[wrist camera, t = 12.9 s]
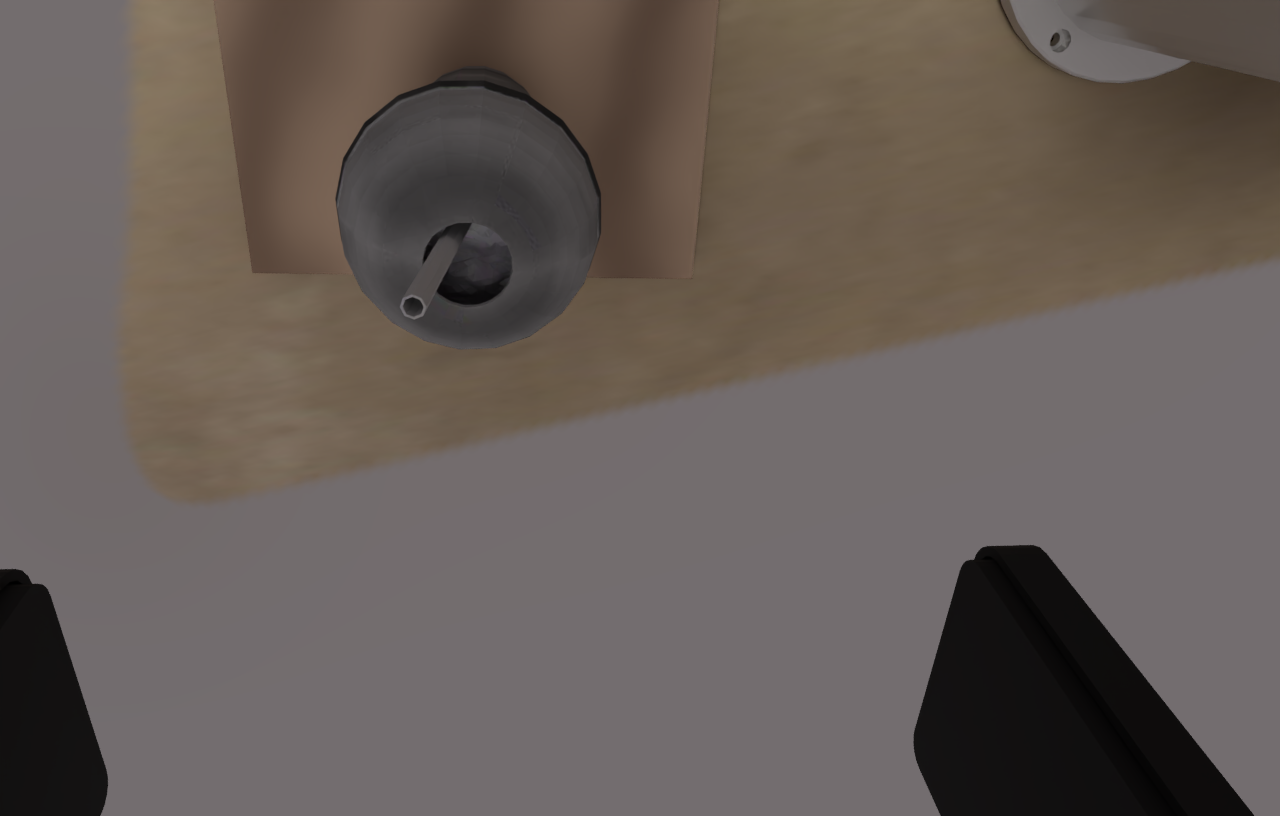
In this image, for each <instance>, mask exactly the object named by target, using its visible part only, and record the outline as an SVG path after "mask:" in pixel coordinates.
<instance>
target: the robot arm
mask: <svg viewBox="0 0 1280 816" xmlns="http://www.w3.org/2000/svg"><path fill="white" fill-rule="evenodd" d="M1001 4H1002V7H1003V9H1004V11H1005V13H1006V15H1007V17H1008V19H1009V21H1010V23H1011V25H1012V27H1013V29H1014V31H1015V32H1016V33H1017V35H1018V36H1019V37H1020V38H1021V40H1022V41H1023V42H1024V43H1025V44H1026V46H1027V47H1028V48H1029V49H1030V51H1031V52H1033V53H1034V54H1035V55H1037V56H1038V57H1039V58H1041V59H1042V60H1043V61H1045V62H1046V63H1047V64H1049V65H1050V66H1051V67H1054V68H1056V69H1059V70H1061V71H1063V72H1066V73H1068V74H1070V75H1073V76H1076V77H1080V78H1084V79H1088V80H1092V81H1095V82H1107V83H1128V82H1134V81H1141V80H1147V79H1152V78H1154V77H1157V76H1160V75H1163V74H1166V73H1168V72H1171V71H1174V70H1177V69H1179V68H1181V67H1183V66H1184V65H1186V64H1188V63H1190V62H1191V61H1193V62H1197V63H1202V64H1206V65H1210V66H1214V67H1219V68H1223V69H1227V70H1231V71H1236V72H1240V73H1244V74H1248V75H1253V76H1257V77H1261V78H1265V79H1270V80H1274V81H1278V82H1280V0H1001ZM1053 34H1054V39H1053V41H1052V42H1051V43H1050V40H1051V38H1052V36H1053ZM914 752H915V756H916V761H917V763H918V766H919V769H920V771H921V773H922V775H923V777H924V780H925V782H926V784H927V786H928V789H929V791H930V793H931V795H932V797H933V800H934V802H935V804H936V806H937V808H938V811H939V813H940V815H941V816H1254V815H1253V813H1252V812H1251V811H1250V810H1249V808H1248V807H1247V806H1246V805H1245V803H1244V802H1243V801H1242V800H1241V798H1240V797H1239V796H1238V794H1237V793H1236V792H1235V791H1234V789H1233V788H1232V787H1231V786H1230V784H1229V783H1228V782H1227V781H1226V779H1225V778H1224V777H1223V776H1222V774H1221V773H1220V772H1219V770H1218V769H1217V768H1216V767H1215V765H1214V764H1213V763H1212V762H1211V760H1210V759H1209V758H1208V757H1207V755H1206V754H1205V753H1204V752H1203V750H1202V749H1201V748H1200V747H1199V745H1198V744H1197V743H1196V742H1195V740H1194V739H1193V738H1192V736H1191V735H1190V734H1189V733H1188V731H1187V730H1186V729H1185V728H1184V726H1183V725H1182V724H1181V723H1180V721H1179V720H1178V719H1177V718H1176V716H1175V715H1174V714H1173V712H1172V711H1171V710H1170V709H1169V707H1168V706H1167V705H1166V704H1165V702H1164V701H1163V700H1162V699H1161V697H1160V696H1159V695H1158V694H1157V692H1156V691H1155V690H1154V689H1153V688H1152V686H1151V685H1150V683H1149V682H1148V681H1147V680H1146V678H1145V677H1144V676H1143V675H1142V673H1141V672H1140V671H1139V670H1138V668H1137V667H1136V666H1135V665H1134V663H1133V662H1132V661H1131V660H1130V658H1129V657H1128V656H1127V655H1126V653H1125V652H1124V651H1123V650H1122V648H1121V647H1120V646H1119V644H1118V643H1117V642H1116V641H1115V639H1114V638H1113V637H1112V636H1111V635H1110V633H1109V632H1108V630H1107V629H1106V628H1105V627H1104V626H1103V624H1102V623H1101V622H1100V620H1099V619H1098V618H1097V617H1096V615H1095V614H1094V613H1093V612H1092V610H1091V609H1090V608H1089V607H1088V605H1087V604H1086V603H1085V601H1084V600H1083V599H1082V598H1081V596H1080V595H1079V594H1078V593H1077V592H1076V590H1075V589H1074V588H1073V586H1072V585H1071V584H1070V583H1069V581H1068V580H1067V579H1066V578H1065V576H1064V575H1063V574H1062V572H1061V571H1060V570H1059V569H1058V568H1057V566H1056V565H1055V564H1054V563H1053V561H1052V560H1051V559H1050V558H1049V556H1048V555H1047V554H1046V553H1045V552H1044V551H1043V550H1042V549H1041V548H1040V547H1037V546H1034V545H1019V546H987V547H983V548H981V549H980V550H979V551H978V553H977V554H976V557H975V559H974V560H969V561H966V562H965V563H964V564H963V565H962V567H961V570H960V573H959V576H958V579H957V583H956V587H955V590H954V594H953V597H952V601H951V605H950V608H949V611H948V615H947V618H946V622H945V625H944V629H943V632H942V636H941V639H940V643H939V646H938V650H937V653H936V657H935V660H934V664H933V667H932V671H931V675H930V678H929V681H928V685H927V689H926V692H925V696H924V699H923V703H922V706H921V710H920V713H919V717H918V720H917V724H916V728H915V731H914ZM107 788H108V776H107V771H106V767H105V764H104V761H103V758H102V755H101V752H100V748H99V745H98V742H97V739H96V736H95V733H94V730H93V727H92V724H91V721H90V717H89V715H88V711H87V708H86V705H85V702H84V699H83V696H82V693H81V689H80V686H79V683H78V680H77V677H76V674H75V671H74V668H73V664H72V661H71V658H70V655H69V652H68V649H67V646H66V643H65V639H64V637H63V634H62V630H61V627H60V624H59V621H58V618H57V615H56V611H55V608H54V605H53V602H52V599H51V596H50V594H49V592H48V589H47V588H46V587H45V586H44V585H41V584H32V583H31V581H30V579H29V577H28V575H26V574H25V573H24V572H23V571H21V570H16V569H3V570H2V569H1V570H0V816H100V815H101V813H102V810H103V807H104V805H105V800H106V796H107Z"/></svg>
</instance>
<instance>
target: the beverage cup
mask: <svg viewBox="0 0 1280 816" xmlns="http://www.w3.org/2000/svg"><path fill="white" fill-rule="evenodd" d="M335 201H336V208H337V215H338V222H339V228H340V235H341V241H342V244H343V251H344V255H345V258H346V260H347V262H348V264H349V266H350V268H351V270H352V272H353V274H354V276H355V278H356V280H357V282H358V284H359V286H360V288H361V290H362V292H363V293H364V294H365V295H366V296H367V297H368V298H369V299H370V300H371V301H372V302H373V303H374V304H375V305H376V306H377V307H378V308H379V309H380V310H381V311H382V312H383V313H384V314H385V316H386V317H387V318H388V319H389V320H390V321H391V322H392V323H394V324H396V325H398V326H399V327H401V328H403V329H405V330H406V331H408V332H410V333H412V334H414V335H415V336H417V337H419V338H421V339H422V340H424V341H427V342H432V343H436V344H440V345H444V346H448V347H452V348H456V349H482V348H497V347H500V346H503V345H506V344H509V343H512V342H515V341H518V340H521V339H524V338H527V337H530V336H531V335H532V334H534V333H535V332H537V331H538V330H539V329H541V328H542V327H543V326H545V325H546V324H548V323H549V322H550V321H552V320H553V319H555V318H556V317H557V316H559V315H560V314H561V313H562V312H563V311H564V310H565V308H566V307H567V306H568V304H569V303H570V302H571V300H572V299H573V298H574V296H575V295H576V293H577V292H578V291H579V289H580V288H581V287H582V285H583V284H584V282H585V279H586V276H587V273H588V271H589V269H590V266H591V263H592V260H593V256H594V253H595V250H596V247H597V244H598V241H599V238H600V235H601V191H600V188H599V185H598V182H597V179H596V176H595V173H594V170H593V167H592V164H591V161H590V158H589V155H588V153H587V152H586V151H585V149H584V148H583V147H582V145H581V144H580V143H579V141H578V140H577V138H576V137H575V136H574V134H573V133H572V132H571V130H570V129H569V128H568V126H567V125H566V124H565V122H564V121H563V120H562V119H561V118H560V117H558V116H557V115H555V114H554V113H553V112H551V111H550V110H548V109H547V108H546V107H544V106H543V105H541V104H540V103H539V102H537V101H536V100H535V99H533V98H532V97H531V96H530V95H529V93H528V92H527V91H526V89H525V88H524V87H523V86H522V85H520V84H519V83H518V82H516V81H515V80H513V79H512V78H511V77H509V76H508V75H506V74H505V73H504V72H501V71H498V70H495V69H492V68H489V67H486V66H465V67H463V68H460V69H457V70H454V71H451V72H448V73H446V74H443V75H442V76H440V77H439V78H438V79H437V80H435V81H434V82H433V83H431V84H428V85H425V86H423V87H420V88H417V89H414V90H411V91H408V92H405V93H403V94H400V95H398V96H396V97H395V98H394V99H393V100H391V101H390V102H389V103H388V104H386V105H385V106H384V107H383V108H381V109H380V110H379V111H378V112H377V113H375V114H374V115H373V116H372V117H370V118H369V119H368V120H367V121H365V122H364V124H363V126H362V127H361V129H360V131H359V132H358V134H357V136H356V137H355V139H354V141H353V142H352V144H351V146H350V147H349V149H348V151H347V152H346V154H345V156H344V157H343V161H342V166H341V172H340V177H339V182H338V187H337V192H336V197H335Z"/></svg>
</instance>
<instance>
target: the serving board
mask: <svg viewBox="0 0 1280 816" xmlns="http://www.w3.org/2000/svg"><path fill="white" fill-rule="evenodd" d="M214 6H215V13H216V20H217V27H218V34H219V41H220V48H221V55H222V62H223V69H224V76H225V83H226V90H227V97H228V104H229V111H230V118H231V125H232V132H233V139H234V146H235V153H236V160H237V167H238V174H239V181H240V188H241V195H242V202H243V209H244V217H245V224H246V231H247V238H248V245H249V252H250V259H251V266H252V273H294V274H353V272H352V270H351V268H350V266H349V264H348V262H347V260H346V258H345V255H344V251H343V244H342V241H341V235H340V228H339V222H338V215H337V208H336V201H335V197H336V192H337V187H338V182H339V177H340V172H341V166H342V161H343V157H344V156H345V154H346V152H347V151H348V149H349V147H350V146H351V144H352V142H353V141H354V139H355V137H356V136H357V134H358V132H359V131H360V129H361V127H362V126H363V124H364V122H365V121H367V120H368V119H369V118H370V117H372V116H373V115H374V114H375V113H377V112H378V111H379V110H380V109H381V108H383V107H384V106H385V105H386V104H388V103H389V102H390V101H391V100H393V99H394V98H395V97H396V96H398V95H400V94H403V93H405V92H408V91H411V90H414V89H417V88H420V87H423V86H425V85H428V84H431V83H433V82H434V81H435V80H437V79H438V78H439V77H440V76H442V75H443V74H446V73H448V72H451V71H454V70H457V69H460V68H463V67H465V66H486V67H489V68H492V69H495V70H498V71H501V72H504V73H505V74H506V75H508V76H509V77H511V78H512V79H513V80H515V81H516V82H518V83H519V84H520V85H522V86H523V87H524V88H525V89H526V91H527V92H528V93H529V95H530V96H531V97H532V98H533V99H535V100H536V101H537V102H539V103H540V104H541V105H543V106H544V107H546V108H547V109H548V110H550V111H551V112H553V113H554V114H555V115H557V116H558V117H560V118H561V119H562V120H563V121H564V122H565V124H566V125H567V126H568V128H569V129H570V130H571V132H572V133H573V134H574V136H575V137H576V138H577V140H578V141H579V143H580V144H581V145H582V147H583V148H584V149H585V151H586V152H587V153H588V155H589V158H590V161H591V164H592V167H593V170H594V173H595V176H596V179H597V182H598V185H599V188H600V191H601V235H600V238H599V241H598V244H597V247H596V250H595V253H594V256H593V260H592V263H591V266H590V269H589V271H588V273H587V276H586V277H595V278H670V279H692V277H693V266H694V256H695V245H696V235H697V225H698V214H699V204H700V194H701V183H702V173H703V162H704V152H705V142H706V131H707V121H708V110H709V100H710V90H711V79H712V69H713V58H714V48H715V38H716V27H717V17H718V7H719V0H214Z"/></svg>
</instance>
